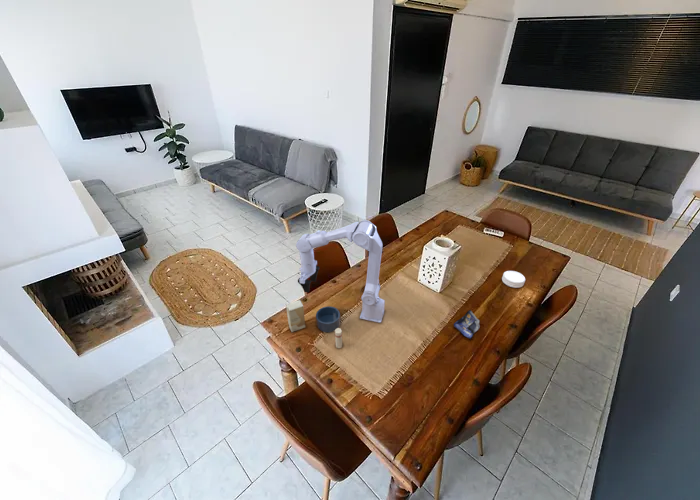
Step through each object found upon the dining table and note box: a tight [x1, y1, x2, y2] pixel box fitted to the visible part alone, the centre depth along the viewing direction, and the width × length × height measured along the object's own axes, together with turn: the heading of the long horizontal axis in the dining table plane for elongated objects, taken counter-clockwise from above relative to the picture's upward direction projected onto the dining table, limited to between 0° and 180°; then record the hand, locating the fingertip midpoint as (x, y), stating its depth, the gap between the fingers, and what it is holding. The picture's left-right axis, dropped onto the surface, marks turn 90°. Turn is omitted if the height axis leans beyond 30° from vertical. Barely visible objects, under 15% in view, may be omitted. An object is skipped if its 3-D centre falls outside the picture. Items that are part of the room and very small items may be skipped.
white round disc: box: [501, 270, 526, 289], centre depth 150 cm, size 10×10×4 cm
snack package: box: [453, 309, 481, 340], centre depth 124 cm, size 12×6×12 cm
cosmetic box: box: [285, 299, 306, 333], centre depth 124 cm, size 6×4×12 cm
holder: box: [315, 306, 341, 333], centre depth 128 cm, size 10×10×5 cm
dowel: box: [334, 327, 343, 349], centre depth 117 cm, size 3×3×8 cm
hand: (310, 286), depth 134 cm, fingers open, 7 cm apart
